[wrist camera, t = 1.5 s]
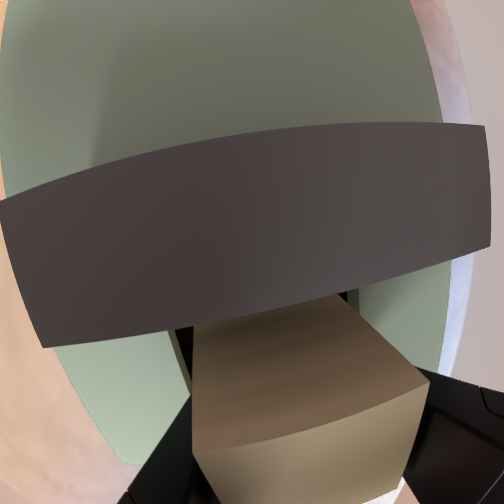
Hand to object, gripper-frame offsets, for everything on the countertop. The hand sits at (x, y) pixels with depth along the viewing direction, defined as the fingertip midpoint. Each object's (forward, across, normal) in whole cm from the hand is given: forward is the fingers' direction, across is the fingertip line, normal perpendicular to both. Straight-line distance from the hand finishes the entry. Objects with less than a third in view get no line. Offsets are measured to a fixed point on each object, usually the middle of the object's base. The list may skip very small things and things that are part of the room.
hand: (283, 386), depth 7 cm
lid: (+2, 0, -4) cm, 5 cm away
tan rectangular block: (+4, 0, 0) cm, 4 cm away
